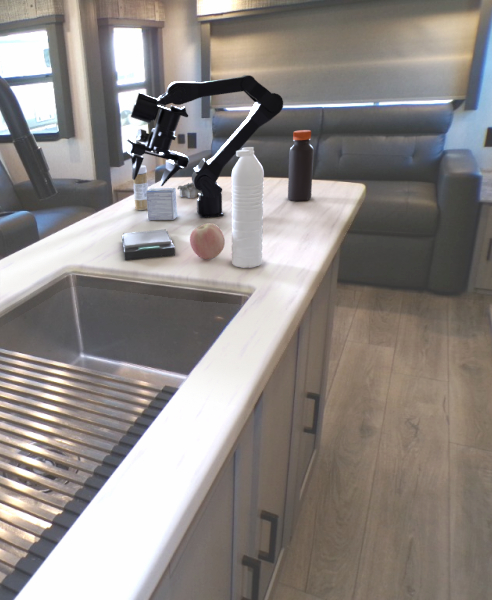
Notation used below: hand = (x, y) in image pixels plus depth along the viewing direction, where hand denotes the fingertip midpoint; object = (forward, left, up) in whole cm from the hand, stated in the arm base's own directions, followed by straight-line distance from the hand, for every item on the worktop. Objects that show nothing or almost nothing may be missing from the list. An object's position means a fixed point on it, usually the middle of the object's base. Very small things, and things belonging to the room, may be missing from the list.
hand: (147, 182), depth 155 cm
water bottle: (-17, +45, -11) cm, 49 cm away
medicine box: (-4, 0, -11) cm, 12 cm away
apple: (-10, +38, -11) cm, 41 cm away
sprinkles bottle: (+1, -14, -11) cm, 18 cm away
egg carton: (-18, -27, -11) cm, 34 cm away
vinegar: (-47, -7, -11) cm, 49 cm away
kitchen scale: (+3, +27, -11) cm, 29 cm away
